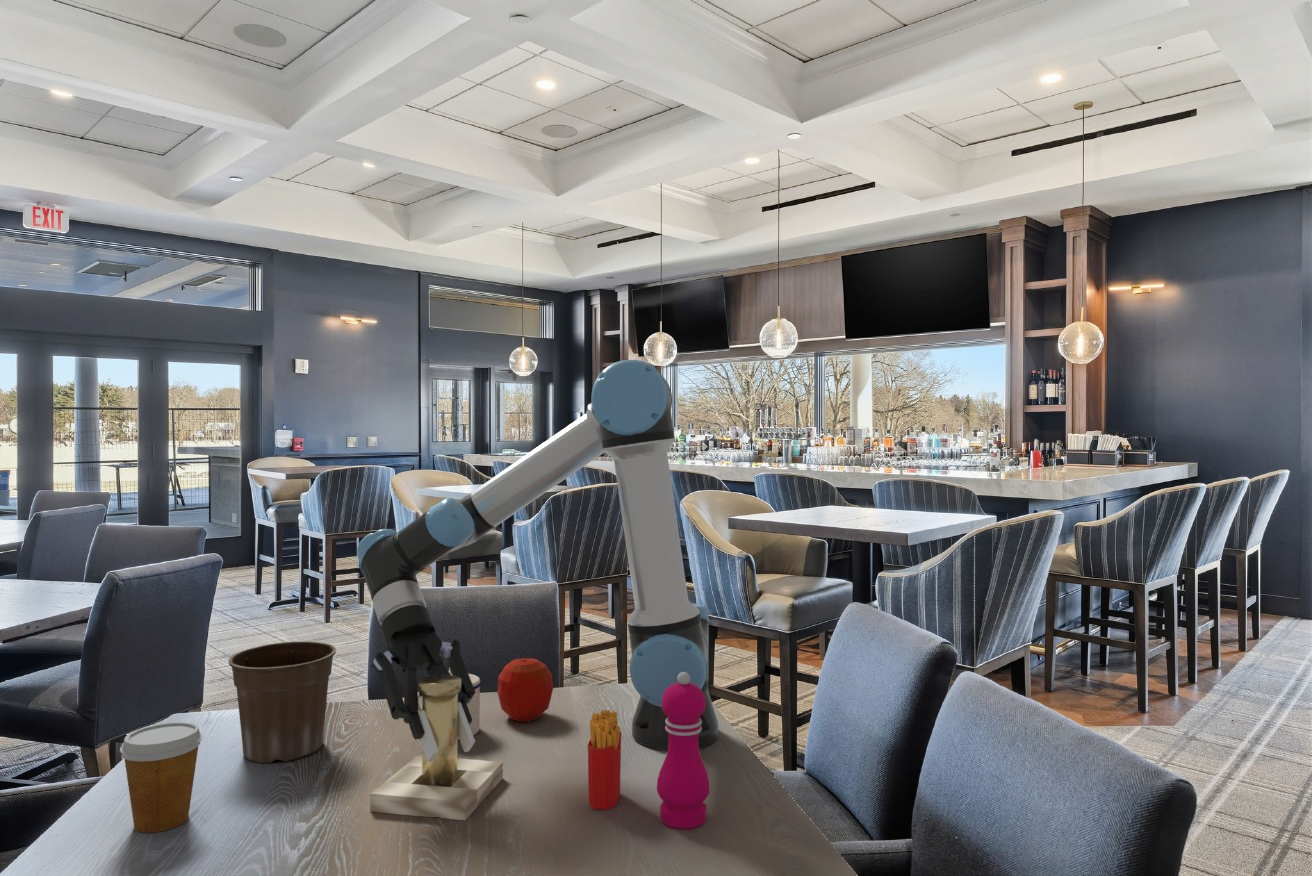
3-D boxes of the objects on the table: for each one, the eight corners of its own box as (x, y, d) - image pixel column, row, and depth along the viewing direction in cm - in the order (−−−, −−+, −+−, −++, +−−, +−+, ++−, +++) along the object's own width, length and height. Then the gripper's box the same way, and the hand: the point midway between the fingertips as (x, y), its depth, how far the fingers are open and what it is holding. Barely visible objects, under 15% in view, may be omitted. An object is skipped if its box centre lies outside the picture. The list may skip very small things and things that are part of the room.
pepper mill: (693, 836, 106) (693, 683, 106) (646, 822, 110) (647, 674, 110) (718, 815, 112) (719, 670, 112) (674, 802, 116) (674, 662, 116)
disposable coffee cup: (150, 805, 115) (150, 720, 115) (216, 806, 114) (216, 721, 114) (101, 838, 105) (102, 745, 105) (174, 840, 105) (174, 746, 105)
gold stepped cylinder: (467, 787, 121) (467, 676, 121) (450, 805, 115) (450, 688, 115) (429, 784, 122) (430, 674, 122) (410, 801, 116) (411, 685, 116)
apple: (561, 711, 155) (561, 651, 155) (537, 729, 145) (537, 664, 145) (513, 706, 158) (513, 646, 158) (487, 723, 149) (487, 659, 149)
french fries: (611, 813, 113) (612, 726, 113) (584, 811, 113) (584, 724, 113) (624, 787, 121) (624, 706, 121) (598, 785, 122) (598, 705, 122)
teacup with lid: (487, 724, 148) (487, 660, 148) (471, 742, 139) (471, 674, 139) (423, 722, 149) (423, 658, 149) (403, 740, 140) (403, 672, 140)
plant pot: (283, 776, 125) (283, 671, 125) (204, 761, 130) (205, 660, 130) (356, 739, 140) (356, 646, 140) (283, 728, 146) (283, 638, 146)
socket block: (502, 778, 124) (502, 762, 124) (465, 820, 110) (465, 801, 110) (417, 771, 127) (417, 755, 127) (370, 811, 113) (370, 793, 113)
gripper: (448, 622, 136) (498, 749, 124) (340, 639, 124) (382, 781, 112) (464, 595, 132) (516, 724, 120) (353, 610, 120) (398, 754, 108)
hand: (451, 751), depth 116 cm, fingers closed on gold stepped cylinder, 5 cm apart
